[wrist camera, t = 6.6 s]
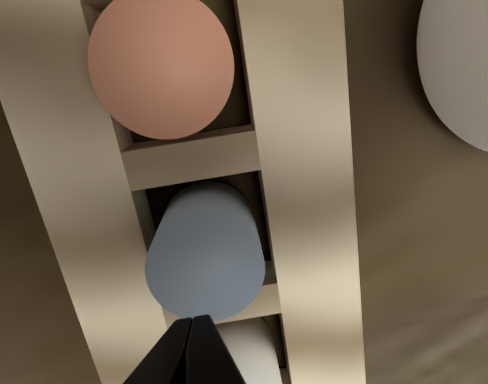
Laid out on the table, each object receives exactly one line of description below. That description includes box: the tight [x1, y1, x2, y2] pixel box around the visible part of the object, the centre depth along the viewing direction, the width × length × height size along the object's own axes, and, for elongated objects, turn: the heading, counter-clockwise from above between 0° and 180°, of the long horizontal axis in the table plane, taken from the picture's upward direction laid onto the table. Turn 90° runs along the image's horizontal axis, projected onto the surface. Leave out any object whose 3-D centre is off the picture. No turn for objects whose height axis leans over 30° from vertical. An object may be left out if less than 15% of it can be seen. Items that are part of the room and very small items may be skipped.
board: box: [0, 0, 366, 384], centre depth 15 cm, size 20×12×2 cm, turn 9°
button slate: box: [145, 181, 265, 321], centre depth 14 cm, size 4×4×4 cm
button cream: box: [215, 317, 282, 384], centre depth 16 cm, size 4×4×4 cm
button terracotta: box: [87, 0, 234, 139], centre depth 12 cm, size 4×4×4 cm
